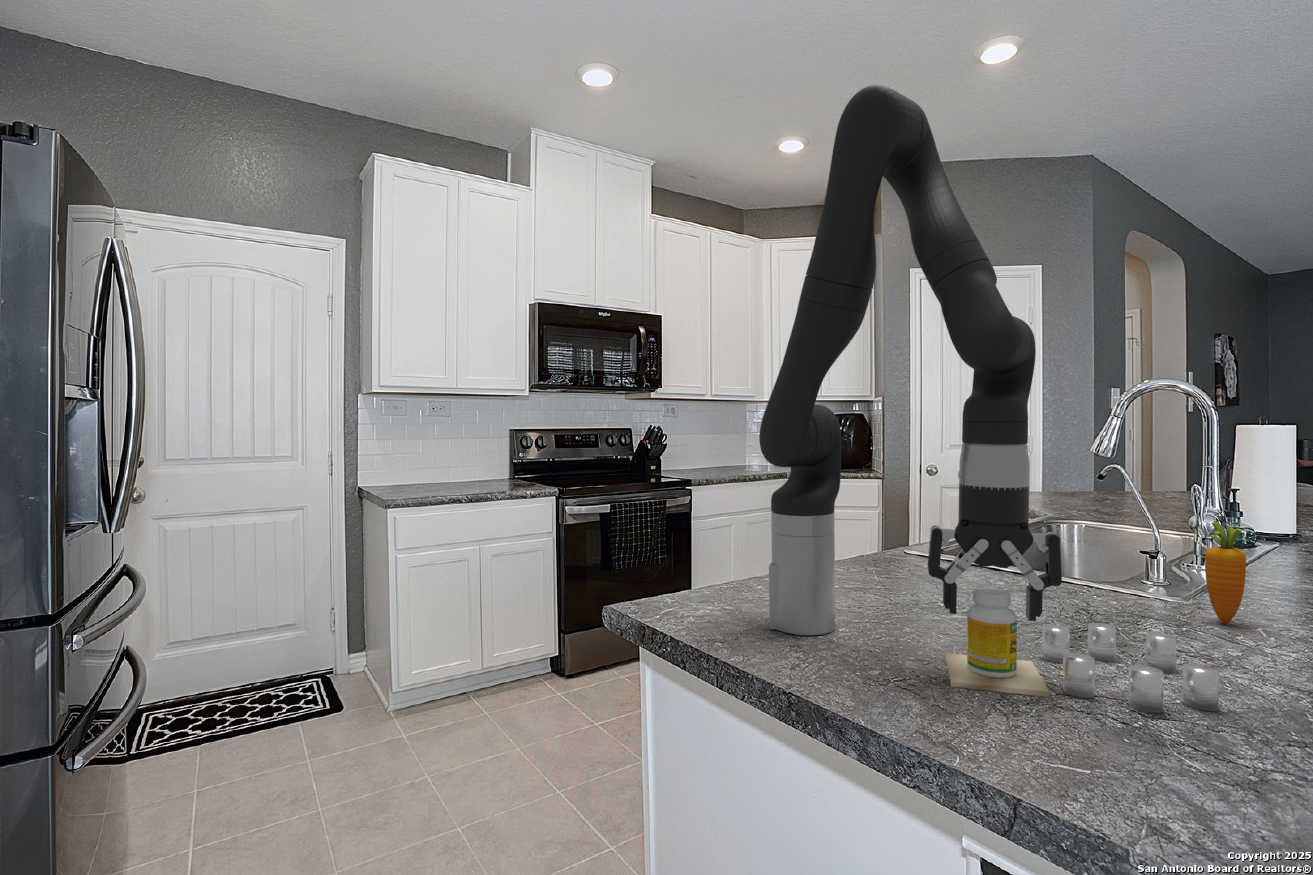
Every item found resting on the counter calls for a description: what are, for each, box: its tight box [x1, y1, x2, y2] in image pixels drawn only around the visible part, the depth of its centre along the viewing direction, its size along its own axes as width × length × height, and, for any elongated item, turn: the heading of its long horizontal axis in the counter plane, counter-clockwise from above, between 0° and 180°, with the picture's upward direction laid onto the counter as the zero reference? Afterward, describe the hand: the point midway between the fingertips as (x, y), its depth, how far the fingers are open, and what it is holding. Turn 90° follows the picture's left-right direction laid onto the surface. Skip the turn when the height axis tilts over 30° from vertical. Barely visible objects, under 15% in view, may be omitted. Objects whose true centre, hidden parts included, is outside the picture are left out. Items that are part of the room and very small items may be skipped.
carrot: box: [1204, 521, 1247, 626], centre depth 100 cm, size 5×5×15 cm
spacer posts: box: [1041, 622, 1220, 714], centre depth 80 cm, size 14×19×4 cm
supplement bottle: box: [966, 587, 1018, 678], centre depth 81 cm, size 5×5×10 cm
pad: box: [944, 652, 1051, 698], centre depth 81 cm, size 10×10×1 cm
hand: (991, 615), depth 82 cm, fingers open, 8 cm apart
